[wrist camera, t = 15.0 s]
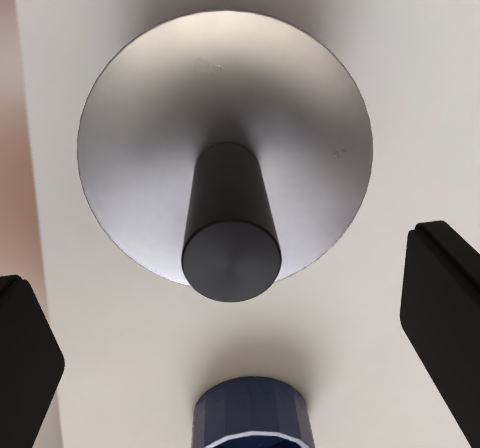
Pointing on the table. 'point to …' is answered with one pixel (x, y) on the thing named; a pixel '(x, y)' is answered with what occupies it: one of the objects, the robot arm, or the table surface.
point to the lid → (225, 151)
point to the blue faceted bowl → (252, 416)
